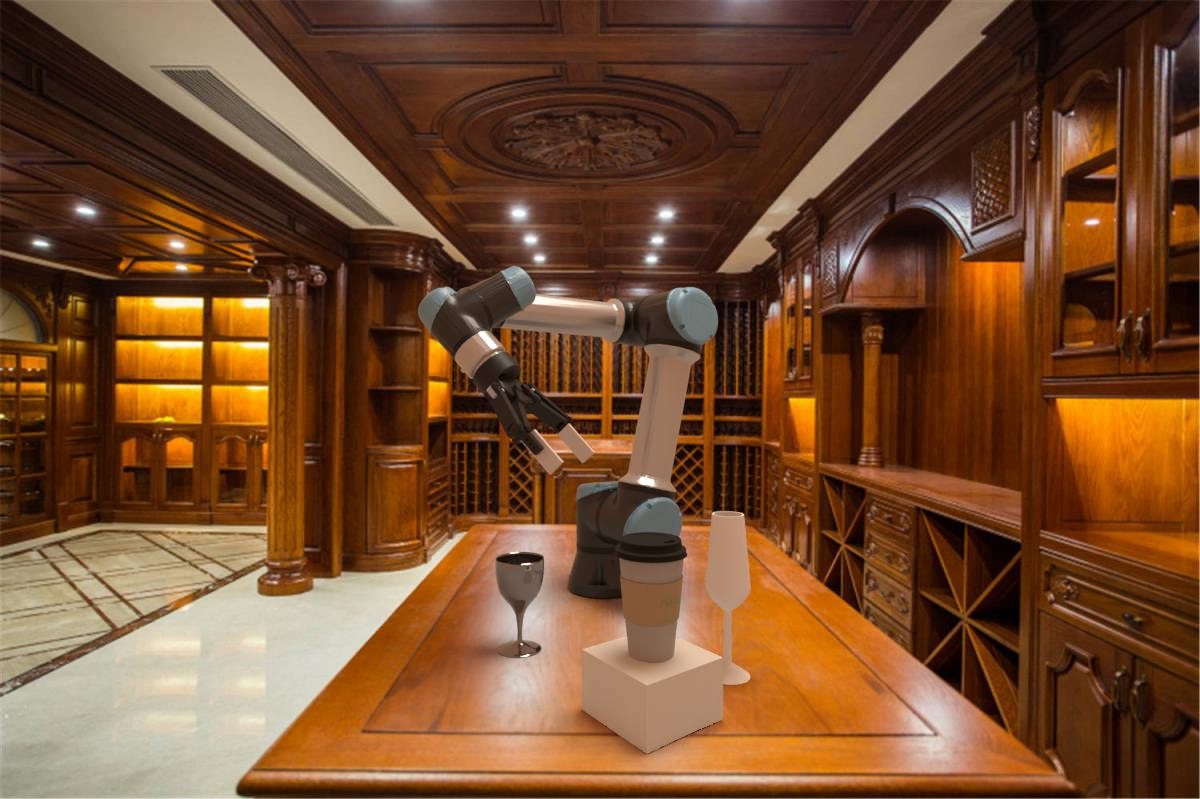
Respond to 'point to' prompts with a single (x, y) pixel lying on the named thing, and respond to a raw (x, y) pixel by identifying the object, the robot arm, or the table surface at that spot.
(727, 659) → the champagne flute
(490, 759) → the table surface
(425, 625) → the table surface
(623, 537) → the coffee cup
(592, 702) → the riser
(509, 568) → the wine glass
